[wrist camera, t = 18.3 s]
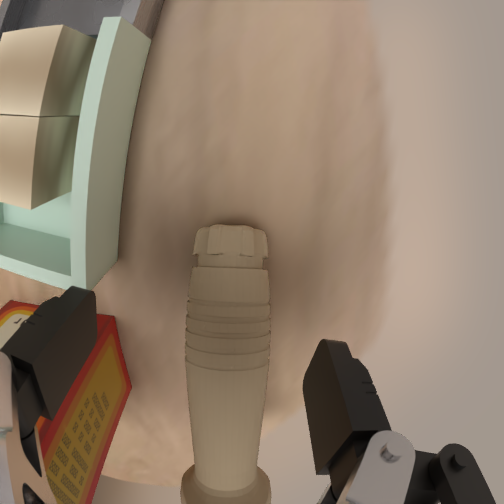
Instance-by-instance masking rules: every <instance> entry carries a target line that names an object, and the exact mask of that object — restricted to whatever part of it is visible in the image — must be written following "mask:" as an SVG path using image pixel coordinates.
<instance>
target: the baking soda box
mask: <svg viewBox="0 0 504 504" xmlns="http://www.w3.org/2000/svg"><path fill="white" fill-rule="evenodd" d="M38 307H39V305H34V304H28V303H22V302H17V301H12V300H10V301H9V302H8V303H7V304H6V305H5V306H3V307H2V308H1V309H0V349H1V348H2V347H3V346H4V344H5V343H6V342H7V341H8V340H9V339H10V337H11V336H12V335H13V334H14V333H15V332H16V331H17V330H18V329H19V327H20V326H21V325H22V324H23V323H24V322H26V320H27V319H28V318H29V317H30V316H31V314H32V315H33V312H34V311H35V310H36V309H37V308H38ZM97 329H98V333H97V340H96V344H95V346H94V348H93V350H92V352H91V354H90V355H89V357H88V359H87V360H86V362H85V364H84V365H83V367H82V369H81V370H80V372H79V374H78V376H77V377H76V379H75V381H74V383H73V384H72V386H71V388H70V390H69V392H68V393H67V395H66V397H65V399H64V401H63V403H62V404H61V406H60V408H59V410H58V412H57V414H56V416H55V418H54V419H53V421H51V420H49V419H46V418H44V417H42V416H40V417H39V419H38V421H37V423H36V425H37V428H38V434H39V440H40V446H41V452H42V457H43V463H44V467H45V472H46V476H47V480H48V484H49V486H50V489H51V491H52V493H53V495H54V497H55V499H56V502H57V504H91V503H92V499H93V496H94V493H95V489H96V487H97V484H98V480H99V477H100V474H101V471H102V468H103V465H104V462H105V459H106V456H107V454H108V451H109V448H110V445H111V442H112V439H113V436H114V434H115V431H116V428H117V425H118V423H119V420H120V417H121V414H122V412H123V409H124V406H125V404H126V401H127V399H128V396H129V393H130V391H131V388H132V386H131V382H130V379H129V375H128V372H127V368H126V364H125V360H124V357H123V353H122V349H121V345H120V340H119V336H118V332H117V327H116V323H115V318H114V316H109V315H101V314H97Z"/></svg>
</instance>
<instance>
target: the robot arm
mask: <svg viewBox="0 0 504 504" xmlns="http://www.w3.org/2000/svg"><path fill="white" fill-rule="evenodd" d="M97 333H98V329H97V314H96V296H95V293H94V292H93V291H90V290H87V289H83V288H80V287H76V286H70V287H69V288H68V289H67V290H66V291H65V292H64V294H63V295H62V296H61V297H60V298H59V297H56V296H55V297H53V298H51V299H49V300H47V301H45V302H43V303H42V304H41V305H40V306H39V307H38V308H37V309H36V310H35V311H34V312H33V315H32V314H31V316H30V317H29V318H28V319H27V320H26V322H24V323H23V324H22V325H21V326H20V327H19V329H18V330H17V331H16V332H15V333H14V334H13V335H12V336H11V337H10V339H9V340H8V341H7V342H6V343H5V344H4V346H3V347H2V348H1V349H0V504H57V502H56V499H55V497H54V495H53V493H52V491H51V489H50V486H49V484H48V480H47V476H46V472H45V467H44V463H43V457H42V452H41V446H40V440H39V434H38V428H37V425H36V423H37V421H38V419H39V417H40V416H42V417H44V418H46V419H49V420H51V421H53V419H54V418H55V416H56V414H57V412H58V410H59V408H60V406H61V404H62V403H63V401H64V399H65V397H66V395H67V393H68V392H69V390H70V388H71V386H72V384H73V383H74V381H75V379H76V377H77V376H78V374H79V372H80V370H81V369H82V367H83V365H84V364H85V362H86V360H87V359H88V357H89V355H90V354H91V352H92V350H93V348H94V346H95V344H96V340H97ZM372 383H373V381H372V379H371V377H370V374H369V372H368V370H367V369H366V367H365V366H364V365H363V364H362V363H361V362H360V361H359V360H358V359H355V358H352V355H351V353H350V350H349V348H348V345H347V343H346V342H342V341H334V340H327V339H322V340H321V341H320V342H319V344H318V347H317V349H316V351H315V353H314V356H313V358H312V360H311V362H310V364H309V367H308V369H307V371H306V373H305V376H304V380H303V395H304V401H305V407H306V413H307V419H308V425H309V431H310V438H311V444H312V450H313V457H314V462H315V470H316V475H330V479H331V482H330V483H329V484H328V485H327V487H326V489H325V490H324V492H323V494H322V496H321V498H320V499H319V501H318V503H317V504H438V503H440V502H441V504H496V503H495V500H494V498H493V496H492V494H491V492H490V489H489V487H488V485H487V483H486V481H485V479H484V477H483V475H482V473H481V471H480V469H479V467H478V465H477V463H476V461H475V459H474V457H473V455H472V454H471V452H470V451H469V450H468V449H466V448H465V447H464V446H462V445H459V444H448V445H446V446H445V447H444V448H443V449H442V450H441V451H440V452H439V453H438V454H434V453H427V452H422V451H416V450H414V447H413V445H412V444H411V442H410V441H409V440H408V439H407V438H406V437H405V436H403V435H402V434H400V433H397V432H394V431H392V430H391V427H390V425H389V422H388V419H387V417H386V414H385V412H384V409H383V406H382V404H381V401H380V399H379V396H378V395H376V393H377V391H376V389H375V386H374V385H372Z"/></svg>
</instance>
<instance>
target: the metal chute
mask: <svg viewBox="0 0 504 504" xmlns="http://www.w3.org/2000/svg"><path fill="white" fill-rule="evenodd" d="M163 2H164V0H3V1H2V4H1V7H0V41H1V37H2V34H3V33H4V32H10V31H15V30H21V29H28V28H35V27H43V26H52V25H66V26H68V27H70V28H72V29H75V30H77V31H79V32H81V33H83V34H86V35H88V36H90V37H92V38H94V39H97V38H98V34H99V31H100V27H101V24H102V21H103V18H104V17H120V16H121V17H123V18H124V19H125V20H127V21H128V22H129V23H130V24H132V25H133V26H134V27H136V28H137V29H138V30H139V31H141V32H142V33H143V34H144V35H146V36H147V37H148V38H149V39H151V40H152V37H153V34H154V30H155V27H156V24H157V20H158V17H159V14H160V11H161V8H162V5H163Z"/></svg>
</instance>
